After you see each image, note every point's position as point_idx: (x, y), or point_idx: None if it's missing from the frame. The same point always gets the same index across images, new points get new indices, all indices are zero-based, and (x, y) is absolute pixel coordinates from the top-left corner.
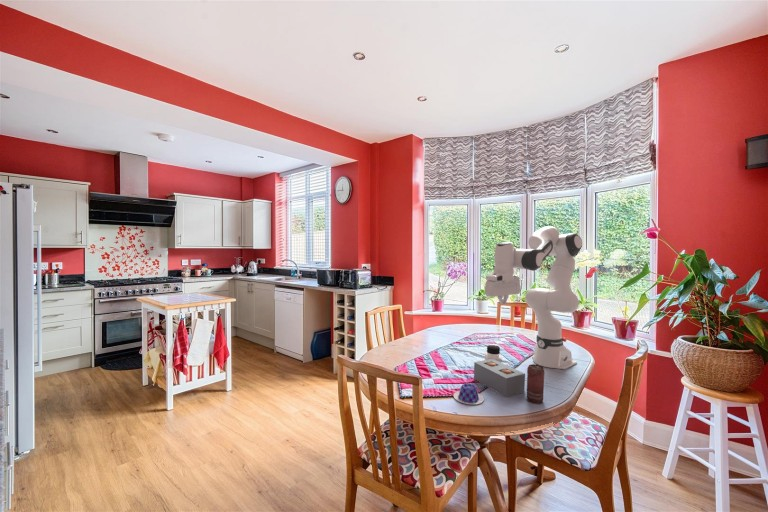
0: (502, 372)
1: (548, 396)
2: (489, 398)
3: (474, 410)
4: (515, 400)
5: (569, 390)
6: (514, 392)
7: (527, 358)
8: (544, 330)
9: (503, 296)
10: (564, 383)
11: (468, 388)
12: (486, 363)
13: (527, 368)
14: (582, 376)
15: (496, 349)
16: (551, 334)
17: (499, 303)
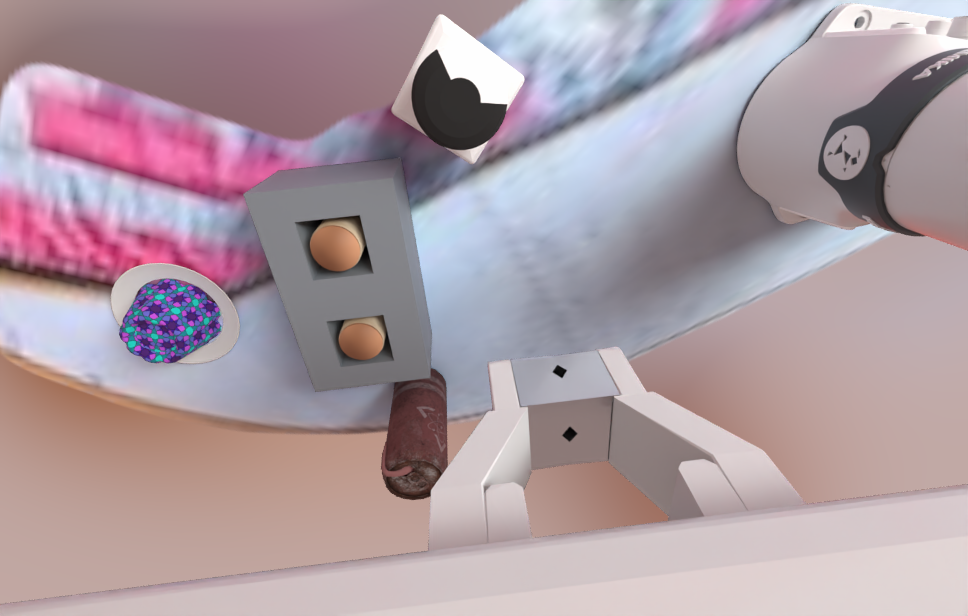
0: (339, 338)
1: None
2: (266, 336)
3: (172, 383)
4: None
5: None
6: None
7: (793, 9)
8: (948, 194)
9: (676, 478)
10: (637, 320)
11: (150, 344)
12: (322, 217)
13: (382, 464)
14: (766, 295)
15: (452, 148)
16: (928, 230)
17: (488, 370)
